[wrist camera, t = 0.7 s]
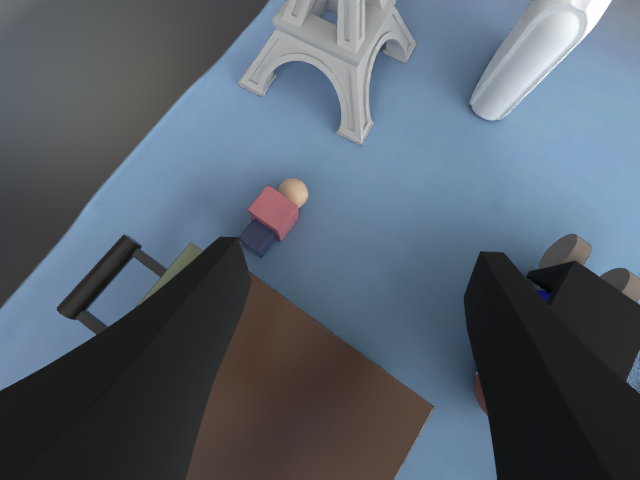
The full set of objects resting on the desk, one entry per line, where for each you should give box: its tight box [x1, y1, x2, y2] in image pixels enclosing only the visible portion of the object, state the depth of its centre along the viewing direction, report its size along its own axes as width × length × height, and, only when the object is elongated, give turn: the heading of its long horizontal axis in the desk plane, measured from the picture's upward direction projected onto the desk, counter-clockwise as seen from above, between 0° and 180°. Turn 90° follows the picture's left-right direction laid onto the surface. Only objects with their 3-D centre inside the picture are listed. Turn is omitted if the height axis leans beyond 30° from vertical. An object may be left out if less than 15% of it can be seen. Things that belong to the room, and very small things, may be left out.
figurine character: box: [474, 234, 640, 415], centre depth 24 cm, size 7×8×15 cm
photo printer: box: [469, 0, 611, 121], centre depth 27 cm, size 10×4×12 cm, turn 148°
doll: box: [239, 178, 308, 257], centre depth 27 cm, size 7×3×3 cm, turn 145°
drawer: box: [57, 235, 203, 335], centre depth 21 cm, size 17×10×7 cm, turn 55°
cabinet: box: [186, 272, 434, 480], centre depth 21 cm, size 14×12×9 cm
